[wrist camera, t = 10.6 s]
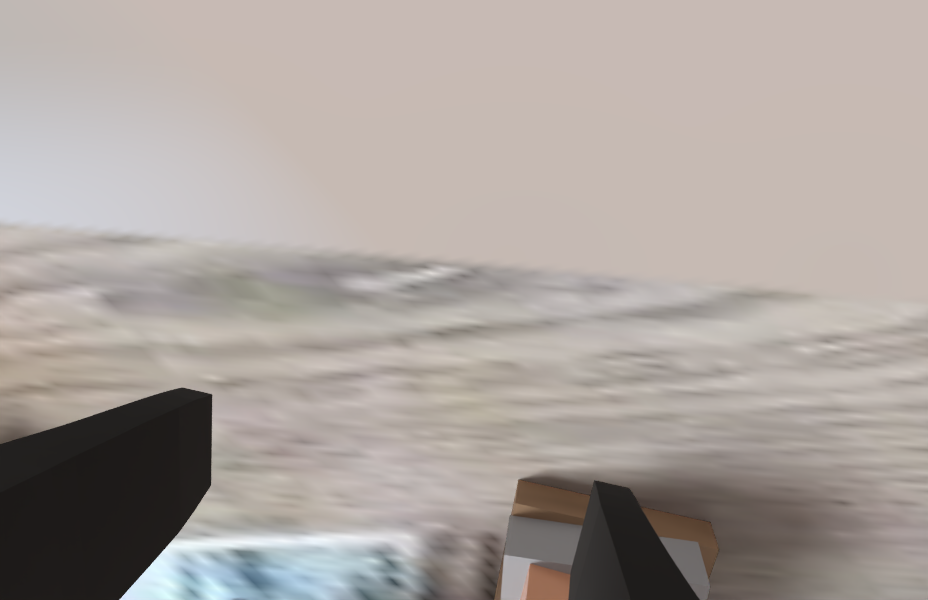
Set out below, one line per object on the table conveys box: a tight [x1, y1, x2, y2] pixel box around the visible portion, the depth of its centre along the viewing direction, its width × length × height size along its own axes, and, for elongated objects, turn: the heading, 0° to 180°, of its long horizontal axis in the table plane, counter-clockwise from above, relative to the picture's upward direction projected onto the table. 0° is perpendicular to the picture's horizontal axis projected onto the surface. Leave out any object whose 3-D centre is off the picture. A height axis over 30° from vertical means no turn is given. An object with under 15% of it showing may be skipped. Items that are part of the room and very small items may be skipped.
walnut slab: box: [494, 480, 719, 600], centre depth 23 cm, size 7×7×2 cm
